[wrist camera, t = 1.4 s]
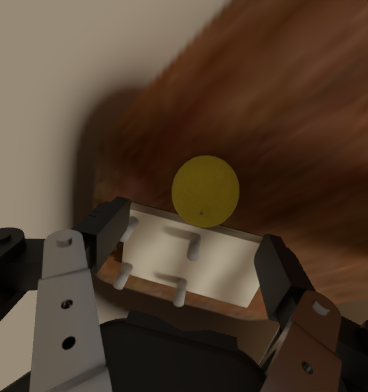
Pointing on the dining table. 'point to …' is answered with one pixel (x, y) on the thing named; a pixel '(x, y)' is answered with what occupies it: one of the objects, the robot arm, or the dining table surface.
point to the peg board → (189, 256)
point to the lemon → (205, 191)
